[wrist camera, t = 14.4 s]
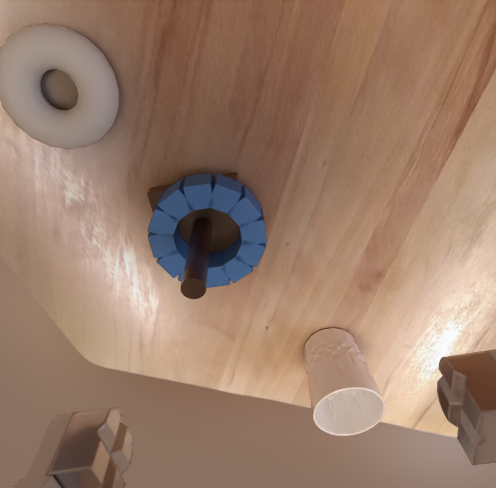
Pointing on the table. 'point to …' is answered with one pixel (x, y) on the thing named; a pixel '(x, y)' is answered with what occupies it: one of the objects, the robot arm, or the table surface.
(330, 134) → the table surface
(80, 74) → the donut
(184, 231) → the post
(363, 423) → the white cup
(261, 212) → the ring
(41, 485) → the robot arm
